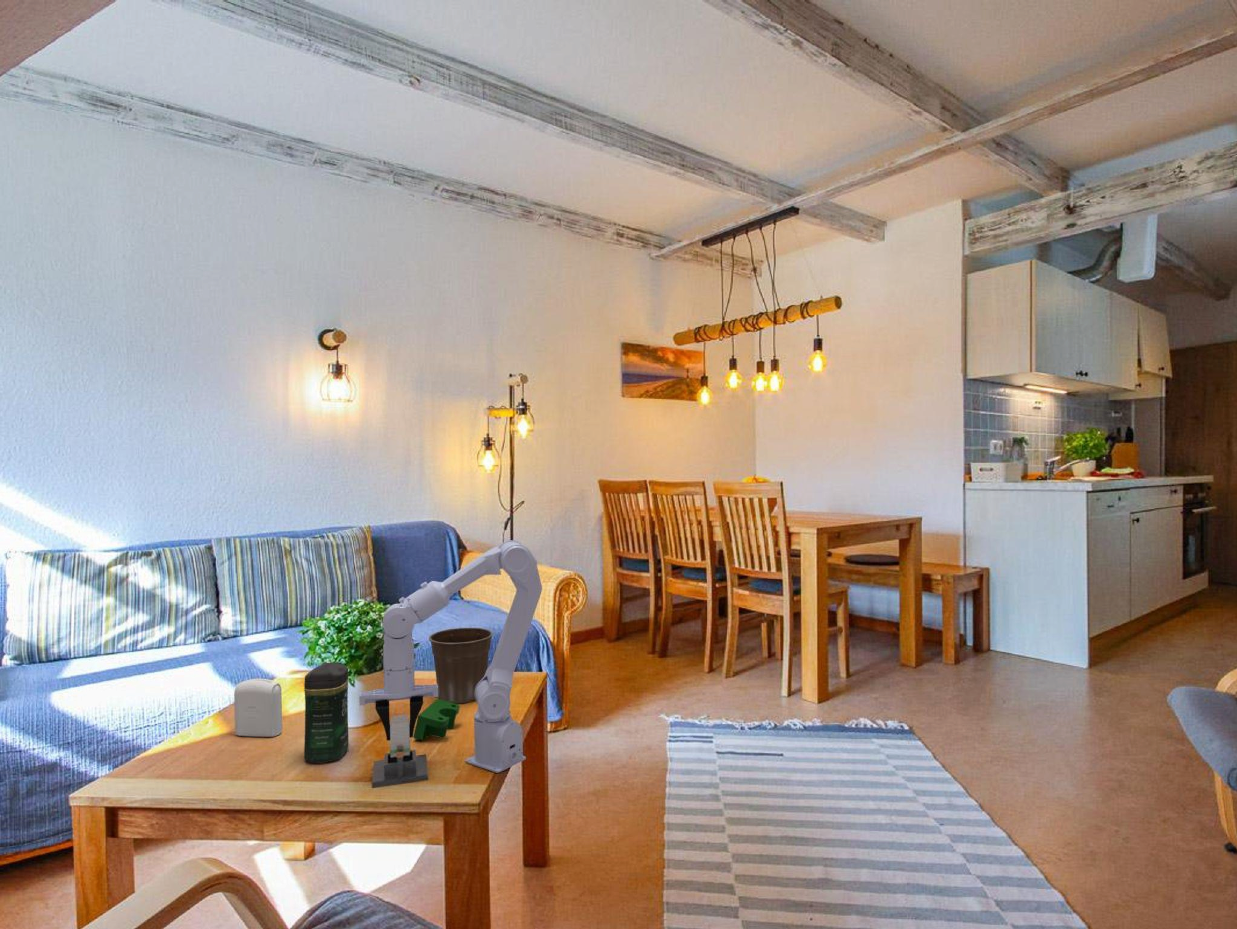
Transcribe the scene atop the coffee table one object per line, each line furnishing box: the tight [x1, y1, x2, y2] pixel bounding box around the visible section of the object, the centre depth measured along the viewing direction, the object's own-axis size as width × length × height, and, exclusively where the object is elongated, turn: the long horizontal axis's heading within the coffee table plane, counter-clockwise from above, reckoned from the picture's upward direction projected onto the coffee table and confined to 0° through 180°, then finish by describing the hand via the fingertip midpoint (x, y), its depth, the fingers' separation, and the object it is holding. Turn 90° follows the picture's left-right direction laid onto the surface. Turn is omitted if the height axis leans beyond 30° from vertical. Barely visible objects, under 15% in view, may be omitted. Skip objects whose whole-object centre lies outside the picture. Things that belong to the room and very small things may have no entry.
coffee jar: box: [303, 661, 350, 764], centre depth 144 cm, size 10×8×19 cm
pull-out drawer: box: [389, 713, 411, 757], centre depth 135 cm, size 4×5×6 cm
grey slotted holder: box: [371, 749, 429, 789], centre depth 135 cm, size 10×10×5 cm
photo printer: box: [233, 678, 283, 738], centre depth 156 cm, size 10×4×12 cm, turn 81°
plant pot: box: [428, 627, 494, 705], centre depth 180 cm, size 16×16×16 cm
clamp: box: [413, 698, 460, 742], centre depth 155 cm, size 12×6×9 cm, turn 168°
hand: (400, 737), depth 135 cm, fingers closed on pull-out drawer, 3 cm apart
